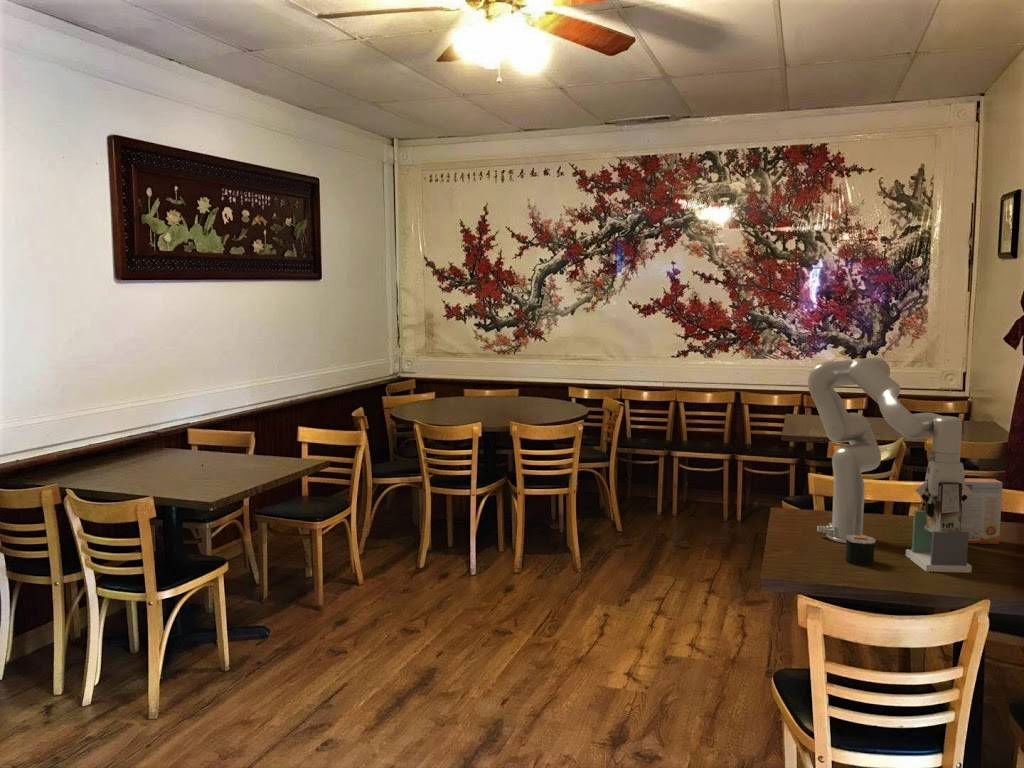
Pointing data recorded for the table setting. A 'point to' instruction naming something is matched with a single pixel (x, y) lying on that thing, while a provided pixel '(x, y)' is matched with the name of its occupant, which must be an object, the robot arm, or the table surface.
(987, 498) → the cracker box
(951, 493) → the coffee box
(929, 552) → the shelf
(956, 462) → the robot arm
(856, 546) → the sushi
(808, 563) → the table surface
